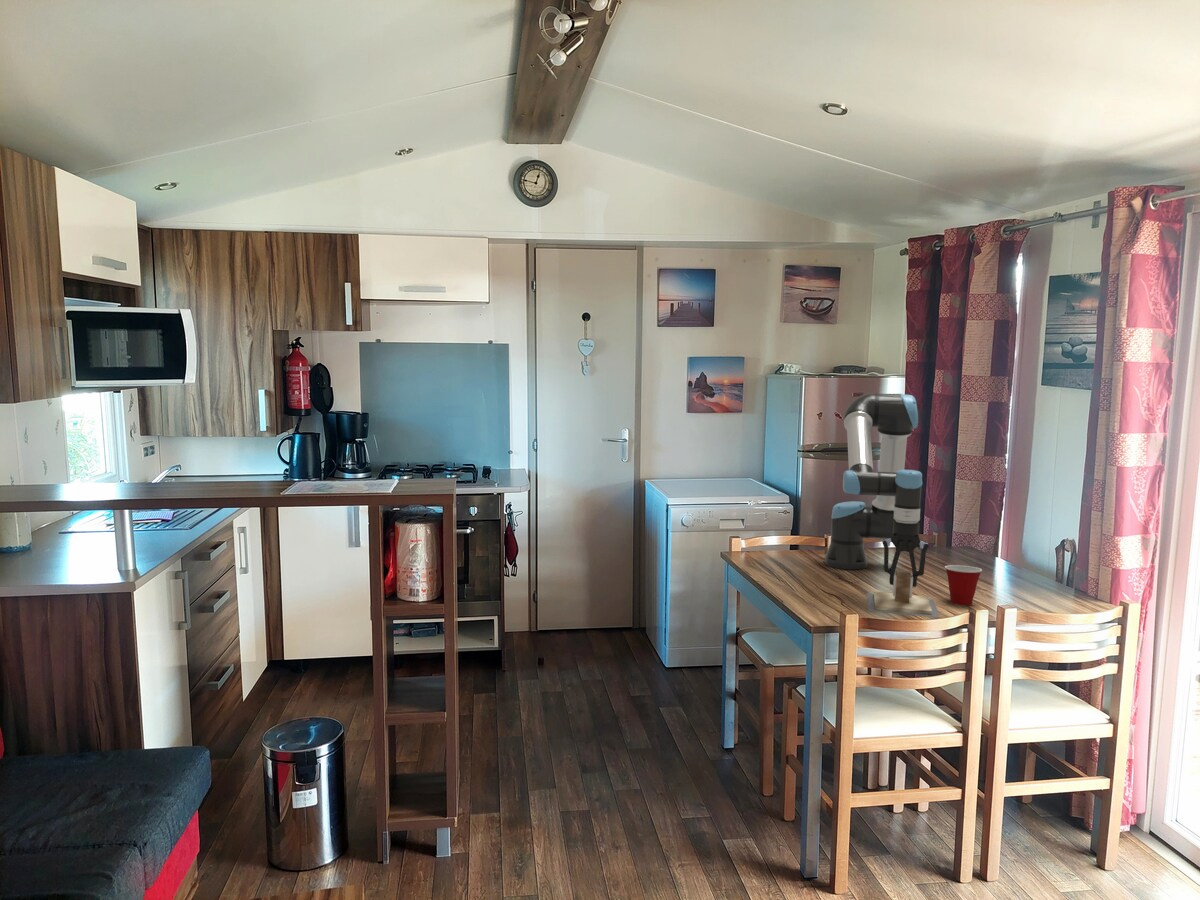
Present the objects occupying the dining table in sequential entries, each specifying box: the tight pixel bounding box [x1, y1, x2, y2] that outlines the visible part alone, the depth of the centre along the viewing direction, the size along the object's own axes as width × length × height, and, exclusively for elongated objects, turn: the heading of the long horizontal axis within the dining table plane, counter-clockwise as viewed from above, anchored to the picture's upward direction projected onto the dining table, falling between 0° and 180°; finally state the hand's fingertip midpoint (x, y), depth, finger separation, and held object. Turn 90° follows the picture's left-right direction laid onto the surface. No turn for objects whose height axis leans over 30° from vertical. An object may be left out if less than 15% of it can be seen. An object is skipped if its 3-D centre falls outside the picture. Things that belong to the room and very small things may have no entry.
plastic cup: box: [944, 564, 983, 606], centre depth 258 cm, size 11×11×12 cm
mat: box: [866, 592, 941, 619], centre depth 255 cm, size 20×20×1 cm
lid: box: [873, 569, 932, 615], centre depth 254 cm, size 16×16×10 cm
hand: (902, 595), depth 254 cm, fingers closed on lid, 4 cm apart
